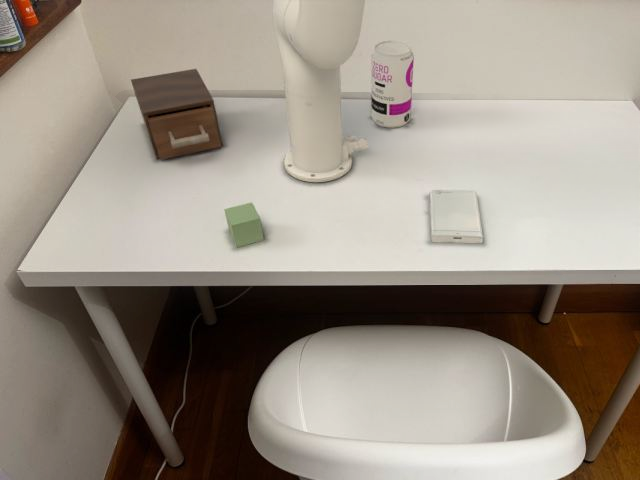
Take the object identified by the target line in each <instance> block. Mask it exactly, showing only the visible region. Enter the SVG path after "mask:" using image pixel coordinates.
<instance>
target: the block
mask: <svg viewBox="0 0 640 480" xmlns="http://www.w3.org/2000/svg"><path fill="white" fill-rule="evenodd" d="M224 215H225V219H226V224H227V228H228V231H229V234H230V236H231V239H232V241H233V243H234V246H235V248H240V247H244V246H248V245H251V244H255V243H259V242H262V241H264V240H265V239H264V233H263V226H262V220H261V216H260V214H259V213H258V211H257V209H256V207H255V205H254V203H253V202H248V203H244V204H239V205H236V206H232V207H228V208H224Z"/></svg>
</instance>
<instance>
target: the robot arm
mask: <svg viewBox="0 0 640 480" xmlns="http://www.w3.org/2000/svg"><path fill="white" fill-rule="evenodd" d="M365 4H366V0H273V3H272V21H273V22H272V23H273V27H274V28H273V29H274V32H275V37H276V42H277V47H278V51H279V56H280V63H281V71H282V77H283V79H282V80H283V88H284V97H285V98H284V99H285V107H286V115H287V123H288V124H287V125H288V133H289V142H290V143H289V144H290V150H289V151H288V152H287V153H286V155H285V156H284V158H283V163H284V169H285V171H286V172H287V173H288V174H289V175H290V176H291V177H293V178H295V179H296V180H298V181H303V182H308V183H327V182H330V181H334V180H337V179H339V178H341V177H343V176H345V175H346V174H347V173H348V172H349V171H350V170H351V168H352V165H353V159H352V158H353V157H352V154H353V153H354V152H357V151H358V152H359V151H363V150H366V149H368V148H369V144H368V143H369V142H368V141H367V138H361V139H357V137H356V135H354V134H353V135H349V136H346V137H344V136H343V112H342V111H343V109H342V88H341V87H342V81H341V79H342V78H341V66H342V65H344V64H346V63H347V61H348V60H350V58H351V57H352V55H353V54H354V52H355V50H356V48H357V45H358V43H359V40H360V35H361V31H362V25H363V17H364V10H365Z"/></svg>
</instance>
